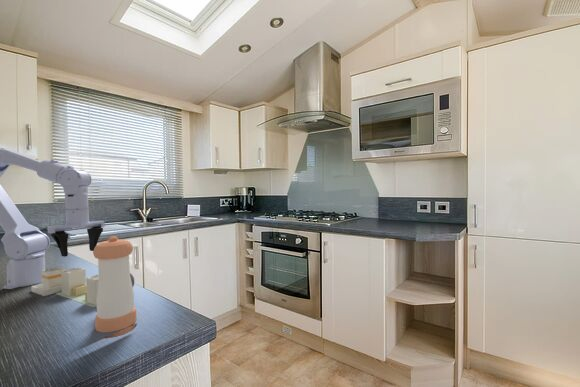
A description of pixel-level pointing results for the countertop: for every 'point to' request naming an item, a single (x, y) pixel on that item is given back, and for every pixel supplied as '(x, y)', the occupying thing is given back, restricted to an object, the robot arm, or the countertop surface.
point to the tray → (43, 292)
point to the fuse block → (78, 295)
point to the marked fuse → (51, 277)
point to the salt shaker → (114, 288)
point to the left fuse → (72, 279)
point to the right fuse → (92, 288)
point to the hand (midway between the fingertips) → (79, 253)
